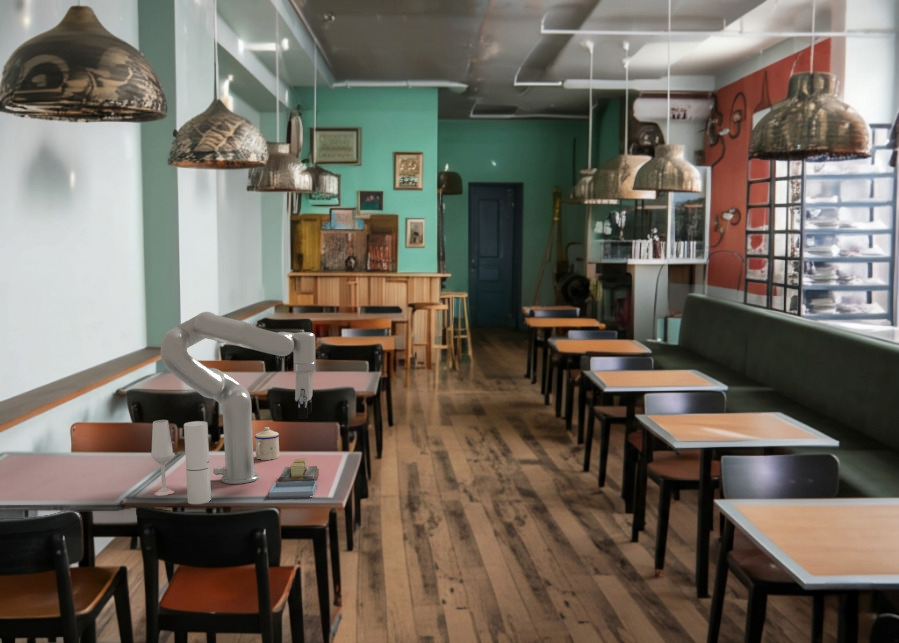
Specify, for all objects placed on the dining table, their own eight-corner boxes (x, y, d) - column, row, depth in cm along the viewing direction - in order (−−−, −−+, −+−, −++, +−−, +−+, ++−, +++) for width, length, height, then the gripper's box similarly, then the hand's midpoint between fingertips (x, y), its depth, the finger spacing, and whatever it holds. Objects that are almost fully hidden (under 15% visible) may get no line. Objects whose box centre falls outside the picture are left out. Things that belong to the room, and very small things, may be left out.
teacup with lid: (263, 454, 333) (262, 424, 332) (284, 455, 330) (283, 425, 329) (246, 461, 322) (245, 431, 321) (267, 463, 319) (266, 432, 318)
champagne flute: (157, 490, 286) (153, 419, 284) (177, 490, 286) (174, 419, 284) (150, 496, 279) (146, 423, 277) (171, 495, 279) (167, 423, 277)
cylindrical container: (214, 497, 276) (210, 421, 274) (206, 504, 269) (202, 426, 267) (193, 497, 277) (189, 421, 275) (184, 504, 270) (180, 426, 268)
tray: (269, 498, 274) (268, 492, 274) (275, 487, 286) (274, 482, 286) (313, 497, 275) (312, 491, 274) (317, 486, 286) (317, 480, 286)
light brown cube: (293, 473, 294) (293, 461, 294) (295, 470, 298) (294, 458, 298) (305, 472, 295) (304, 461, 294) (306, 469, 299) (306, 458, 298)
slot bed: (278, 487, 287) (278, 477, 286) (284, 476, 299) (284, 467, 299) (314, 486, 287) (314, 476, 287) (319, 475, 300) (318, 465, 300)
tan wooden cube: (291, 477, 289) (290, 466, 289) (293, 474, 293) (292, 463, 293) (303, 477, 289) (302, 465, 289) (304, 474, 293) (304, 462, 293)
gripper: (297, 364, 308) (298, 411, 310) (289, 371, 291) (290, 421, 293) (318, 364, 309) (319, 411, 310) (311, 371, 291) (312, 421, 293)
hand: (305, 416), depth 301 cm, fingers open, 9 cm apart
